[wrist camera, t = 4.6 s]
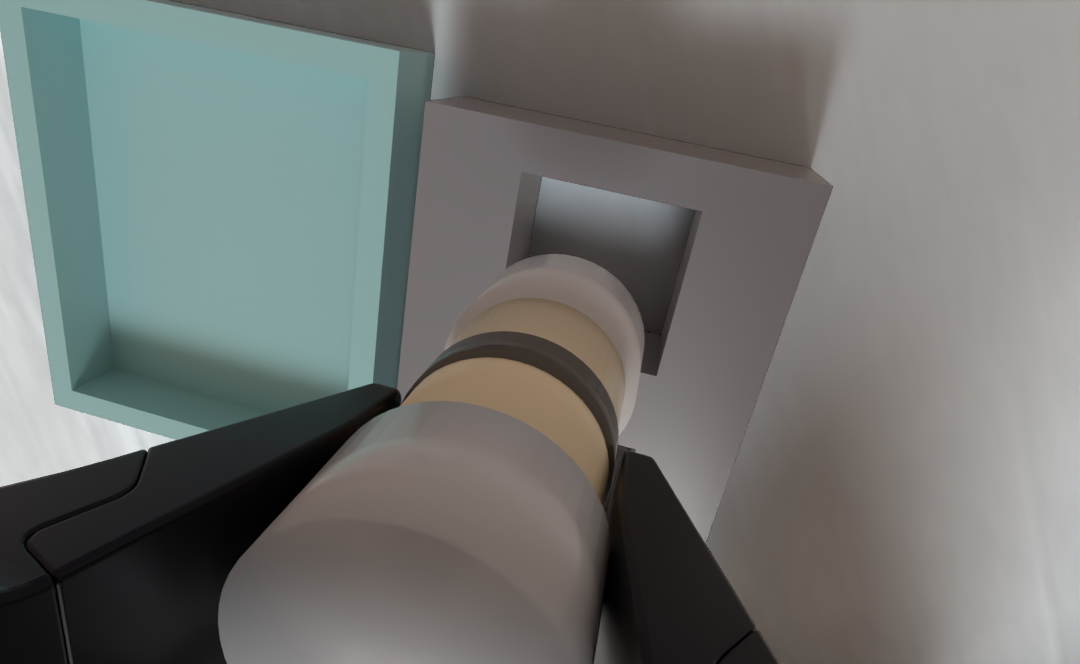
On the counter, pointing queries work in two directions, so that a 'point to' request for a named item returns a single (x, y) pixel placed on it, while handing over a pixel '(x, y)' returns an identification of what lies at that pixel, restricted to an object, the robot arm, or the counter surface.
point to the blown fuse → (462, 496)
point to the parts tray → (212, 206)
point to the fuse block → (701, 286)
